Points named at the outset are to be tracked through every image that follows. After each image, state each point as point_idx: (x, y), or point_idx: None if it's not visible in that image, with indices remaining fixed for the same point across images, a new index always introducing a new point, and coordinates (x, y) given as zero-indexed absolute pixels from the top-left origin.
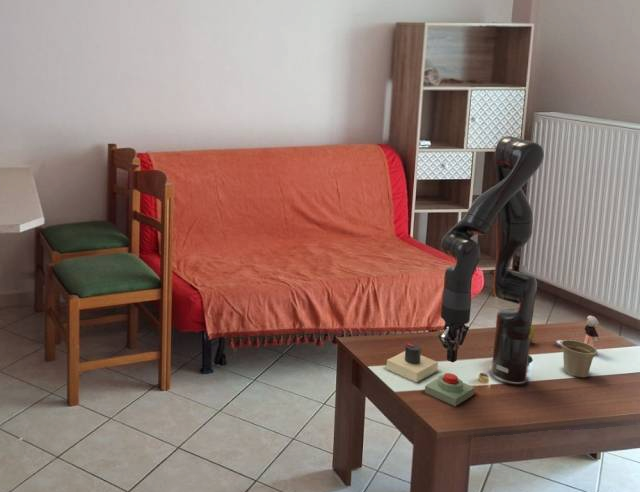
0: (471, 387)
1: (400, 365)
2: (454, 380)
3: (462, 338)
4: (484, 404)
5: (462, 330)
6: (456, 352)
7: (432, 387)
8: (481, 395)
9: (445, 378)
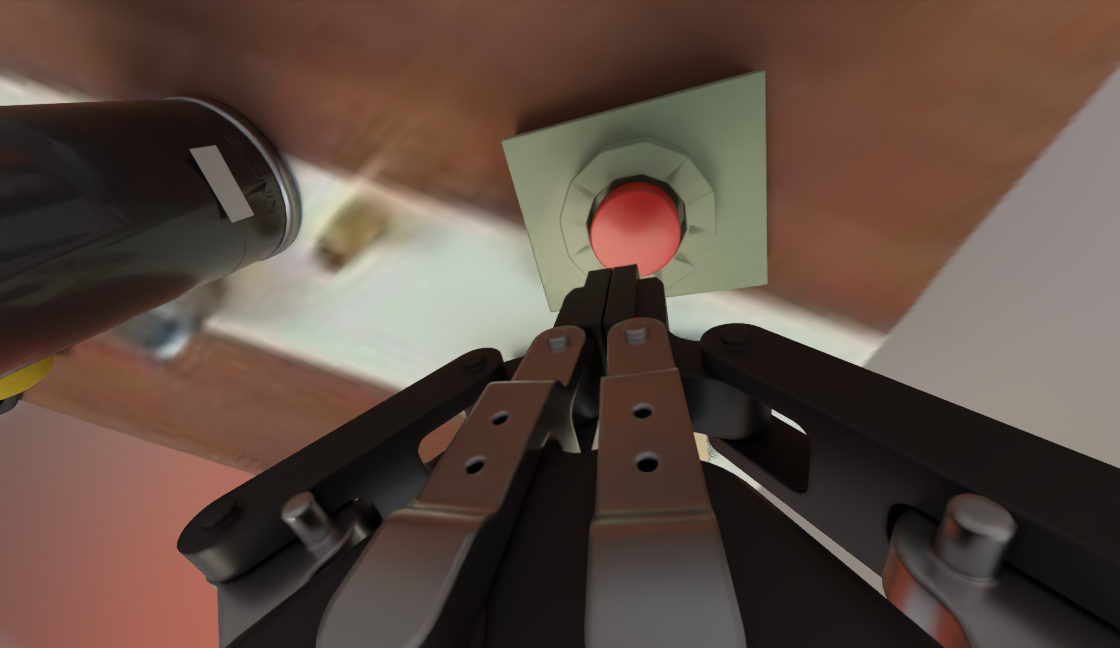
0: (521, 148)
1: (704, 449)
2: (652, 190)
3: (430, 409)
4: (548, 11)
5: (430, 564)
6: (592, 309)
7: (750, 251)
8: (481, 109)
9: (678, 241)
